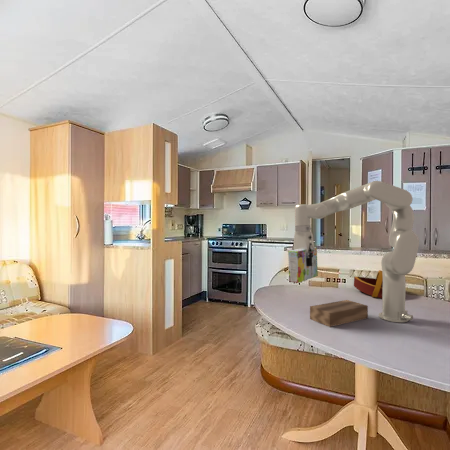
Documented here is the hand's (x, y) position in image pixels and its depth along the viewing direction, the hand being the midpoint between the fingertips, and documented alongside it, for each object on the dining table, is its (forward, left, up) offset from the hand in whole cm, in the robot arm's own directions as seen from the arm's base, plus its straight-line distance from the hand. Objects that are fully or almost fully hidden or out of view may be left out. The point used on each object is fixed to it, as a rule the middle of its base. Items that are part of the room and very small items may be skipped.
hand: (303, 264), depth 153 cm
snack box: (0, 0, -7) cm, 7 cm away
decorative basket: (+11, -73, -25) cm, 78 cm away
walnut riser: (-14, -10, -24) cm, 30 cm away
